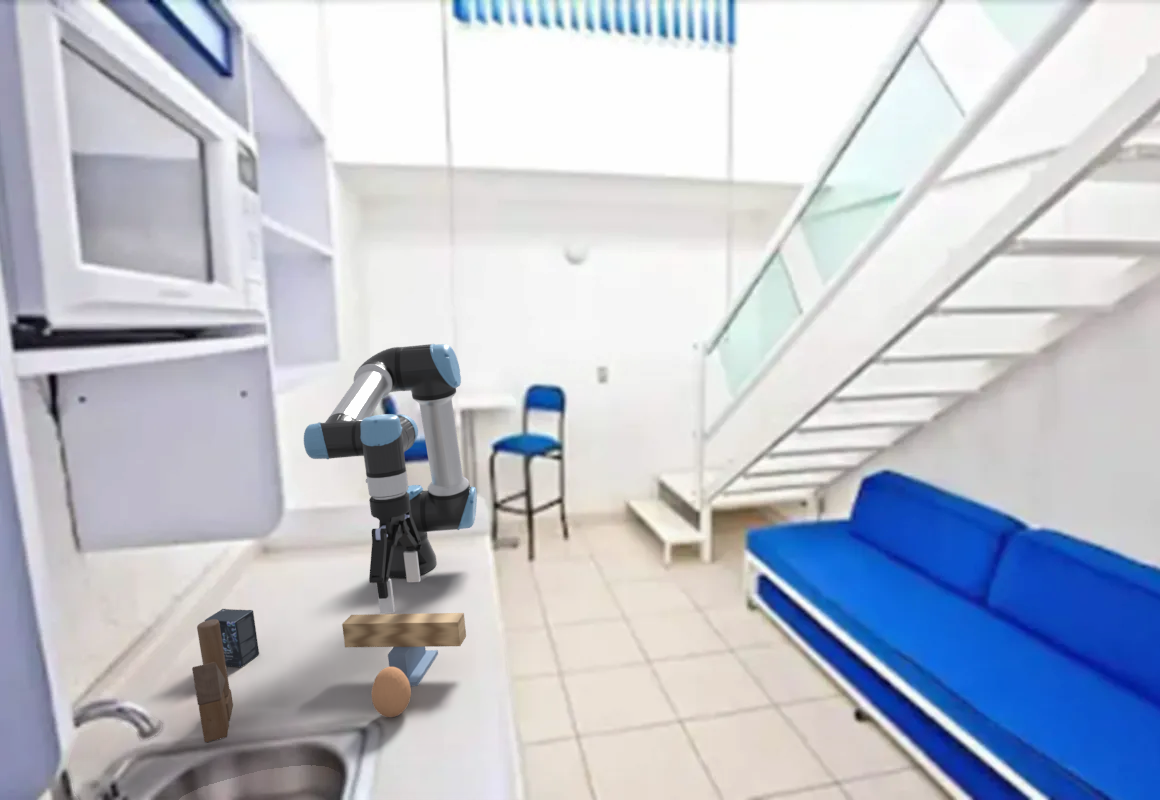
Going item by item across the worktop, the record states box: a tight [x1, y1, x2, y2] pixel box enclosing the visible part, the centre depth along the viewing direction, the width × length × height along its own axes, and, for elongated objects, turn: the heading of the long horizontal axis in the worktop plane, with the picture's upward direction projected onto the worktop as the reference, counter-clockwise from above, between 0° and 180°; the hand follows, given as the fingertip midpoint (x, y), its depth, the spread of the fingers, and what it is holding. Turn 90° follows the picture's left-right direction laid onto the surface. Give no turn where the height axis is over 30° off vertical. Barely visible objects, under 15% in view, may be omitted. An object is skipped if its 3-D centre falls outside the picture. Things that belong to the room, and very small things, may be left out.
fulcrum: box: [387, 647, 439, 687], centre depth 133 cm, size 12×8×6 cm, turn 173°
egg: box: [371, 666, 412, 718], centre depth 117 cm, size 7×7×9 cm
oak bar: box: [341, 612, 467, 648], centre depth 132 cm, size 24×4×5 cm, turn 83°
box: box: [204, 608, 260, 668], centre depth 142 cm, size 8×6×11 cm
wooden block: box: [191, 619, 234, 743], centre depth 118 cm, size 4×11×18 cm, turn 23°
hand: (401, 596), depth 131 cm, fingers open, 13 cm apart
